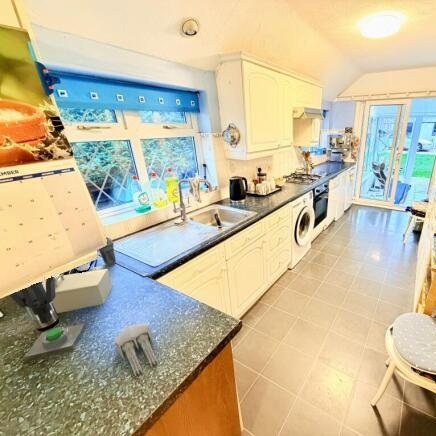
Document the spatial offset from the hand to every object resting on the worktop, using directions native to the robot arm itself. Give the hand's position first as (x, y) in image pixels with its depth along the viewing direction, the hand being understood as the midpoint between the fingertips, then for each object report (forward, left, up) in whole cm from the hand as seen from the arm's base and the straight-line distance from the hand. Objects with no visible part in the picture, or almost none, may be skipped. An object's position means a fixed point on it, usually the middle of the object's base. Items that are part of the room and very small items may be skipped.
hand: (47, 320), depth 77 cm
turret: (+29, +2, -11) cm, 31 cm away
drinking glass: (-34, +39, -11) cm, 53 cm away
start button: (0, 0, -7) cm, 7 cm away
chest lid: (-12, +21, -1) cm, 24 cm away
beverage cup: (-26, +47, -11) cm, 55 cm away
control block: (0, 0, -10) cm, 10 cm away
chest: (-12, +21, -10) cm, 26 cm away
